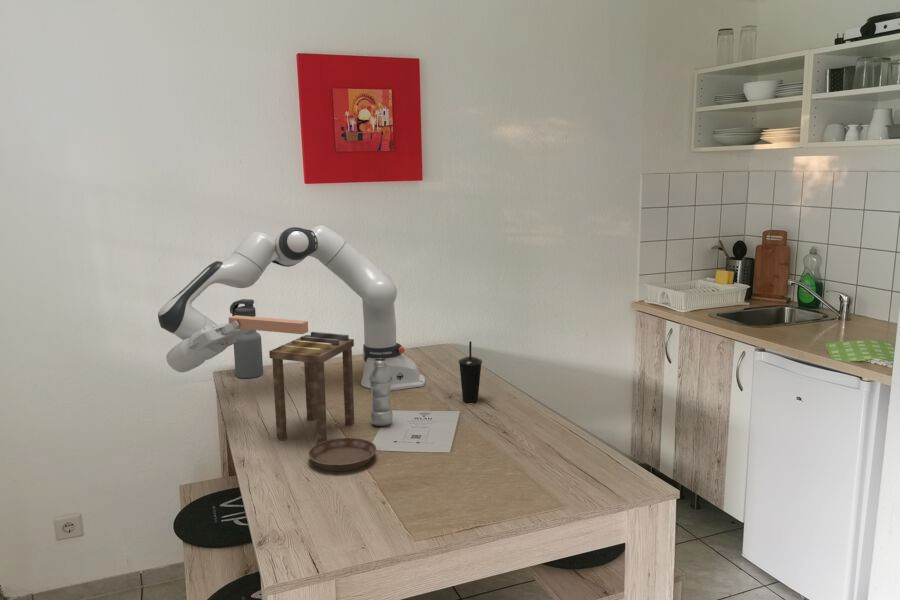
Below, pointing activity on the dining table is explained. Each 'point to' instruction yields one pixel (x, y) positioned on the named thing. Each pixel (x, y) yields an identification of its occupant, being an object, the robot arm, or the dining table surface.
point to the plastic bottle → (380, 393)
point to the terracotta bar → (271, 324)
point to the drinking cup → (470, 377)
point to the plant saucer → (342, 454)
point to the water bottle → (247, 344)
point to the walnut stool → (313, 377)
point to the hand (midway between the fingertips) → (243, 320)
